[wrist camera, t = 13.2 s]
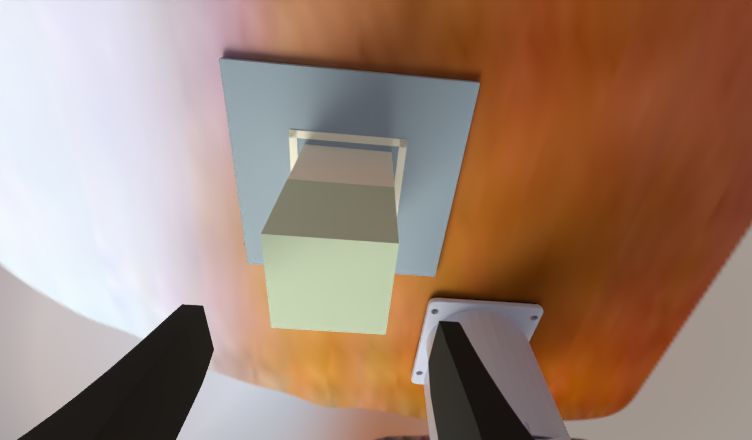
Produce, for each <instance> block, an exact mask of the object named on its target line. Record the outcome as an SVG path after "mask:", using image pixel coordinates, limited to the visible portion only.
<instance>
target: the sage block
mask: <svg viewBox="0 0 752 440" xmlns="http://www.w3.org/2000/svg"><path fill="white" fill-rule="evenodd" d="M261 241H262V250H263V259H264V268H265V277H266V286H267V295H268V304H269V313H270V322H271V328H284V329H300V330H317V331H334V332H351V333H368V334H384V335H386V328H387V322H388V315H389V308H390V302H391V295H392V288H393V281H394V275H395V268H396V261H397V254H398V248H399V236H398V225H397V213H396V201H395V190H394V187H385V186H372V185H359V184H346V183H333V182H320V181H307V180H294V179H287V180H286V183H285V185H284V187H283V189H282V191H281V193H280V195H279V197H278V199H277V201H276V203H275V205H274V207H273V209H272V212H271V214H270V216H269V218H268V220H267V222H266V224H265V226H264V228H263V230H262V232H261Z"/></svg>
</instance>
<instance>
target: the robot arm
mask: <svg viewBox="0 0 752 440" xmlns="http://www.w3.org/2000/svg"><path fill="white" fill-rule="evenodd" d="M433 309H436V310H433ZM542 314H543V309H542V307H541V306H540V305H538V304H525V303H510V302H495V301H480V300H465V299H450V298H432V299H430V300H429V302H428V306H427V310H426V314H425V319H424V323H423V327H422V332H421V336H420V340H419V344H418V349H417V353H416V357H415V362H414V366H413V370H412V375H411V381H412V382H413V383H415V384H424V392H425V400H426V409H427V417H428V425H429V434H430V440H571V439H570V436H569V434H568V432H567V430H566V427H565V425H564V422H563V420H562V418H561V416H560V413H559V411H558V409H557V406H556V404H555V402H554V399H553V397H552V395H551V392H550V390H549V388H548V385H547V383H546V381H545V378H544V376H543V374H542V372H541V369H540V367H539V365H538V362H537V360H536V358H535V355H534V353H533V351H532V348H531V346H530V344H529V341H530V339H531V337H532V335H533V333H534V331H535V329H536V327H537V325H538V323H539V320H540V318H541V316H542ZM213 351H214V348H213V344H212V340H211V336H210V332H209V328H208V324H207V320H206V316H205V312H204V308H203V306H199V305H184V304H182V305H181V306H180V307H179V308H178V309H177V310H175V311H174V312H173V313H172V314H171V315H170V316H169V317H168V318H167V319H165V320H164V321H163V322H162V323H161V324H160V325H159V326H158V327H157V328H156V329H154V330H153V331H152V332H151V333H150V334H149V335H148V336H147V337H146V338H144V339H143V340H142V341H141V342H140V343H139V344H138V345H137V346H136V347H134V348H133V349H132V350H131V351H130V352H129V353H128V354H126V355H125V356H124V357H123V358H122V359H121V360H119V361H118V362H117V363H116V364H115V365H114V366H113V367H111V368H110V369H109V370H108V371H107V372H105V373H104V374H103V375H102V376H100V377H99V378H98V379H97V380H96V381H94V382H93V383H92V384H91V385H89V386H88V387H87V388H86V389H85V390H84V391H82V392H81V393H80V394H79V395H77V396H76V397H75V398H73V399H72V400H71V401H69V402H68V403H67V404H65V405H64V406H63V407H62V408H61V409H59V410H58V411H56V412H55V413H54V414H52V415H51V416H50V417H48V418H47V419H46V420H44V421H43V422H41V423H40V424H39V425H37V426H36V427H34V428H33V429H32V430H31V431H29V432H28V433H26V434H25V435H23V436H22V437H20V438H19V439H17V440H176V438H177V436H178V434H179V432H180V430H181V428H182V426H183V424H184V422H185V420H186V417H187V415H188V413H189V411H190V409H191V407H192V405H193V403H194V400H195V398H196V396H197V394H198V392H199V390H200V388H201V385H202V383H203V380H204V378H205V375H206V372H207V369H208V366H209V363H210V360H211V357H212V354H213Z"/></svg>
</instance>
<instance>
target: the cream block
mask: <svg viewBox="0 0 752 440" xmlns="http://www.w3.org/2000/svg"><path fill="white" fill-rule="evenodd" d="M288 179H294V180H307V181H320V182H333V183H346V184H359V185H372V186H385V187H394V190H395V185H394V174H393V162H392V152H385V151H374V150H364V149H353V148H342V147H331V146H320V145H309V144H304V146H303V148H302V150H301V152H300V154H299V156H298V158H297V161H296V163H295V165H294V167H293V169H292V171H291V173H290V175H289V177H288Z"/></svg>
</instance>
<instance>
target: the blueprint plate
mask: <svg viewBox="0 0 752 440" xmlns="http://www.w3.org/2000/svg"><path fill="white" fill-rule="evenodd" d="M219 62H220V70H221V77H222V84H223V91H224V98H225V105H226V112H227V119H228V127H229V134H230V141H231V148H232V155H233V162H234V169H235V176H236V184H237V191H238V198H239V205H240V212H241V219H242V226H243V233H244V241H245V248H246V255H247V262H248V264H259V265H264V259H263V250H262V241H261V232H262V230H263V228H264V226H265V224H266V222H267V220H268V218H269V216H270V214H271V212H272V209H273V207H274V205H275V203H276V201H277V199H278V197H279V195H280V193H281V191H282V189H283V187H284V185H285V183H286V180H287V179H288V177H289V175H290V173H291V171H292V169H293V167H294V165H295V163H296V161H297V158H298V156H299V154H300V152H301V150H302V148H303V146H304V144H309V145H320V146H331V147H342V148H353V149H364V150H374V151H385V152H392V162H393V174H394V185H395V201H396V213H397V225H398V236H399V248H398V254H397V261H396V268H395V274H404V275H419V276H433V277H435V274H436V270H437V266H438V262H439V257H440V253H441V249H442V245H443V240H444V236H445V232H446V227H447V223H448V219H449V215H450V210H451V206H452V202H453V198H454V193H455V189H456V185H457V181H458V176H459V172H460V168H461V163H462V159H463V155H464V151H465V146H466V142H467V138H468V134H469V129H470V125H471V121H472V117H473V112H474V108H475V104H476V99H477V95H478V91H479V87H480V82H478V81H469V80H459V79H448V78H437V77H427V76H416V75H405V74H395V73H384V72H373V71H362V70H352V69H341V68H330V67H320V66H309V65H298V64H288V63H277V62H266V61H255V60H245V59H234V58H223V57H222V58H220V59H219Z"/></svg>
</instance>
